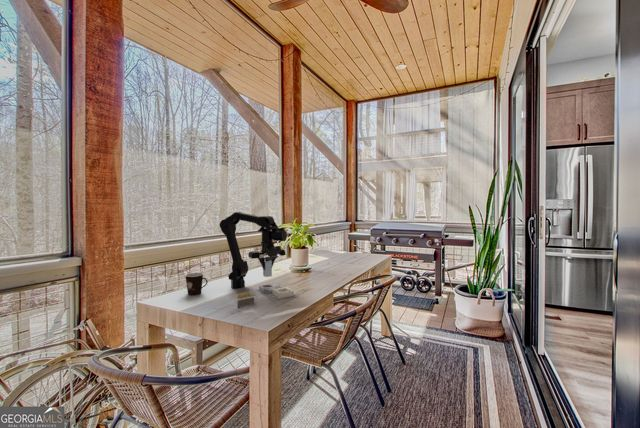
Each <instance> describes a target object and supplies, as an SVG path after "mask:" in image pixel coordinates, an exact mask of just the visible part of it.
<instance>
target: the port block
mask: <svg viewBox="0 0 640 428" xmlns="http://www.w3.org/2000/svg"><path fill="white" fill-rule="evenodd" d="M273 294H274V295H275V296H277V297H278V298H284V297H289V296H294V294H295V290H293V289H291V288H290V287H287V286H286V287H282V288H278V289H273Z"/></svg>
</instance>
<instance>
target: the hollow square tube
mask: <svg viewBox="0 0 640 428" xmlns="http://www.w3.org/2000/svg"><path fill="white" fill-rule="evenodd" d="M275 287H276V286H274V285H273V284H270V283H268V284H262V285H261V284H260V285H259V286H258V289H259V291H261V292H262V293H269V292H273V289H275Z"/></svg>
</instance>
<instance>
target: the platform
mask: <svg viewBox="0 0 640 428" xmlns="http://www.w3.org/2000/svg"><path fill="white" fill-rule="evenodd" d="M255 298H257V294H254V293H253V294H252V292H250V291H248V292H247V291H246V292H243V293H241V292H240V293H237V296H235V298H234V300H235V301H236V302H237V309H241V307H240V306H243V305H249V304H255Z"/></svg>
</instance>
